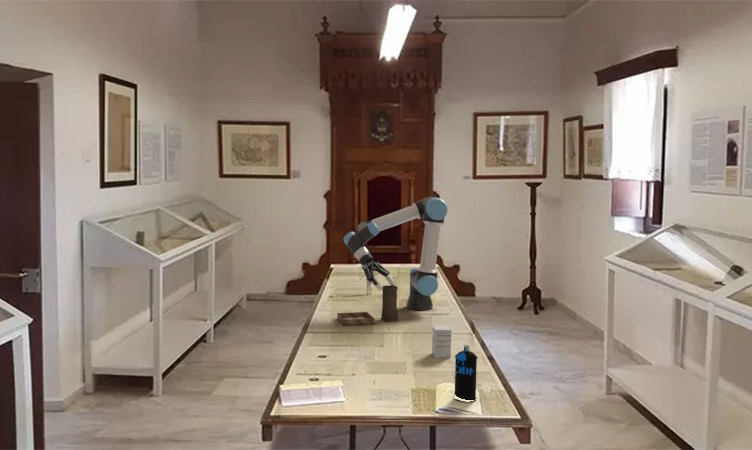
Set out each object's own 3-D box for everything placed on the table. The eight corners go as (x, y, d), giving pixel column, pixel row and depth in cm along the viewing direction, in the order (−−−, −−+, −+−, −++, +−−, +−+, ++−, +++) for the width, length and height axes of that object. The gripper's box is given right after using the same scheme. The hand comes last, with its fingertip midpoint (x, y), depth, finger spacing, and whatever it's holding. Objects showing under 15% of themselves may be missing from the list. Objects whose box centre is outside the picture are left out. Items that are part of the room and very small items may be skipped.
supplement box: (431, 353, 324) (432, 325, 323) (447, 353, 325) (448, 325, 324) (434, 358, 317) (434, 329, 316) (450, 357, 318) (451, 329, 316)
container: (396, 322, 381) (396, 288, 379) (379, 321, 383) (380, 287, 381) (399, 318, 390) (399, 285, 388) (382, 317, 392) (383, 284, 390)
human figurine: (377, 293, 456) (378, 265, 454) (378, 295, 452) (379, 266, 450) (358, 294, 454) (359, 265, 452) (359, 295, 451) (359, 266, 449)
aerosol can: (460, 393, 271) (461, 341, 269) (480, 397, 267) (481, 344, 265) (449, 399, 265) (451, 346, 262) (469, 404, 260) (471, 349, 258)
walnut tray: (367, 317, 392) (367, 311, 392) (374, 324, 376) (374, 318, 376) (337, 318, 388) (337, 313, 388) (343, 325, 372) (343, 320, 372)
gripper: (371, 258, 403) (394, 288, 397) (347, 264, 382) (370, 295, 376) (380, 249, 400) (403, 279, 394) (355, 255, 379) (379, 286, 372)
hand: (387, 287), depth 385 cm, fingers open, 13 cm apart
